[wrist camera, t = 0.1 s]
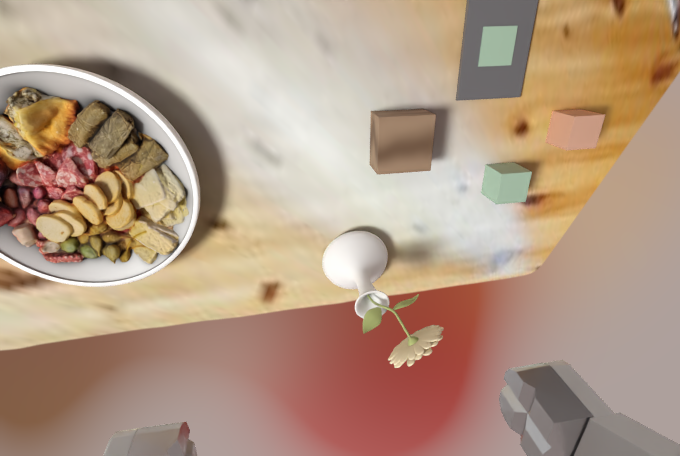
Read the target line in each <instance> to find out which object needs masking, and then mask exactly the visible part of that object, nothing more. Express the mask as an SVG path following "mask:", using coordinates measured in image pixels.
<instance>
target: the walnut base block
mask: <svg viewBox="0 0 680 456" xmlns="http://www.w3.org/2000/svg"><path fill="white" fill-rule="evenodd" d="M435 119H436V114H433V113H431V112H429V111H427V110H425V109H411V110H390V111H371V132H370V165H371V167H372V168H373V169H374V171H375V172H376V173H377V174H390V173H404V172H418V171H430V170H431V160H432V150H433V140H434V129H435Z"/></svg>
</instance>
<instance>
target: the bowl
mask: <svg viewBox="0 0 680 456" xmlns="http://www.w3.org/2000/svg"><path fill="white" fill-rule="evenodd" d="M199 209H200V185H199V179H198V174H197V171H196V167H195V165H194V162H193V159H192V157H191V155H190V152H189V151H188V149H187V147H186V145H185V143H184V142H183V140H182V138H181V137H180V135H179V134H178V133H177V131H176V130H175V129H174V127H173V126H172V125H171V124H170V123H169V121H168V120H167V119H166V118H165V117H164V116H163V115H162V114H161V113H160V112H159V111H158V110H157V109H156V108H154V107H153V106H152V105H151V104H150V103H148V102H147V101H146V100H144V99H143V98H142V97H140V96H139V95H137V94H136V93H134V92H133V91H131V90H130V89H128V88H126V87H124V86H123V85H121V84H119V83H117V82H115V81H112V80H110V79H108V78H106V77H103V76H101V75H98V74H95V73H92V72H89V71H86V70H82V69H78V68H73V67H68V66H62V65H53V64H25V65H15V66H9V67H4V68H0V258H2V259H3V260H5V261H7V262H9V263H10V264H12V265H14V266H16V267H18V268H20V269H22V270H24V271H27V272H29V273H31V274H34V275H36V276H39V277H42V278H45V279H48V280H52V281H56V282H60V283H65V284H70V285H78V286H91V287H102V286H114V285H121V284H126V283H130V282H134V281H137V280H140V279H143V278H145V277H148V276H150V275H152V274H154V273H156V272H157V271H159V270H161V269H162V268H164V267H165V266H167V265H168V264H169V263H170V262H172V261H173V260H174V259H175V258H176V257H177V256H178V255H179V254H180V252H181V251H182V250H183V249H184V247H185V246H186V244H187V243H188V241H189V239H190V237H191V236H192V233H193V231H194V228H195V226H196V223H197V219H198V215H199Z"/></svg>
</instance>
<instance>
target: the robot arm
mask: <svg viewBox="0 0 680 456" xmlns="http://www.w3.org/2000/svg"><path fill="white" fill-rule="evenodd" d="M504 380H505V381H506V383H507V385H506V386H505V387H504V388H503V389H502V390H501V393H500V398H499V401H500V407H501V411H502V414H503V416H504V418H505V420H506V422H507V424H508V425H509V427H510V428H511V429H512V430H514V431H515V432H517V433H518V434H520V435H521V442H520V445H521V447H522V448H523V450H524V451H525V453H526V455H527V456H680V444H678V443H676V442H674V441H672V440H670V439H668V438H666V437H665V436H662V435H661V434H659V433H657V432H655V431H653V430H652V429H650V428H648V427H646V426H644V425H642V424H640V423H639V422H637V421H635V420H633V419H631V418H629V417H627V416H626V415H624V414H621V413H614V412H613V411H612V410H611V409H610V408H609V407H608V406H607V405H606V403H605V402H604V401H603V400H602V399H601V398H600V397H599V396H598V395H597V394H596V393H595V392H594V391H593V389H592V388H591V387H590V386H589V385H588V384H587V383H586V382H585V381H584V380H583V379H582V378H581V376H580V375H579V374H578V373H577V372H576V371H575V370H574V369H573V368H572V367H571V366H570V365H569V364H568V363H567V362H565V361H563V360H560V361H554V362H548V363H539V364H534V365H527V366H522V367H516V368H511V369H508V371H506V373H505V377H504ZM189 433H190V429H189V427H188V425H187V422H181V423H174V424H166V425H160V426H152V427H145V428H137V429H130V430H124V431H118V432H116V433H115V434H114V435H113V437H112V438H111V439H110V441H109V443H108V445H107V448H106V450H105V453H104V455H103V456H197V453H196V447H195V444H194V442H192V441H190V440H189V439H188V438H189Z"/></svg>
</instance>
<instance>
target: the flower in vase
mask: <svg viewBox="0 0 680 456" xmlns="http://www.w3.org/2000/svg"><path fill="white" fill-rule="evenodd" d="M387 259H388V253H387V249H386V246H385V244H384V243H383V241H382V240H381V239H380V238H379V237H378V236H376V235H374V234H372V233H370V232H366V231H352V232H348V233H345V234H342V235H340V236H339V237H337V238H336V239H334V240H333V241H332V242H331V243H330V244H329V245H328V247H327V248H326V250H325V252H324V255H323V259H322V267H323V271H324V273H325V275H326V276H327V278H328V279H329V280H330V281H331V282H332V283H334V284H335V285H337V286H339V287H342V288H345V289H358V290H359V298H358V299H357V301H356V303H355V311H356V313H357V314H358V315H359V316H360V317H362V318H364V320H363V333H366V332H368V331H370V330H372V329H373V328H375V327H377V326H378V325H379V324H380V323H381V318H382V315H383V314H384V313H385V312H386V310H390V311H392V312H393V313H394V314H395V315H396V317H397V319H398V320H399V322H400V324H401V325H402V327H403V329H404V330H405V332H406V334H407V335H408V337H407V339H405V340H403V341H402V342H401V344H399V345H398V346H396V347H395V348H394V350H393V352H392V353H391V356H390V357H389V359H388V360H391V359H392V360H391V362H390V364H392V363H394V365H395V366H394V367H395V368H399V367H400V366H401V365H402V364H403V363H404V362H405V361H406V360H407V359H408V360H407V365H408V366H411V365H413V364H414V362H415V360H419V359H420V358H421V357H422V355H429V354H431V353H432V349H431V348H430V347H433V346H436V345H437V344H438V341H439V340H441V339H442V338H443V336H441V335H440V334H441V333H442V332H441V331H442V330H443V327H439V326H438V325H437V326H435V325H431V326H429V327H425V328H423V329H421V330H418V331H416V332H415V333H414V334H411V335H410V334H409V333H408V331H407V330H406V328H405V326H404V325H403V323H402V321H401V319H400V317H399V316H398V314H397V313H396V312H395V311H394V310H396V309H399V308H402V307H406V306H408V305H410V304H412V303H413V302H415V301H416V299H417V298H418V295H419V294H418V295H417V296H415V297H414V298H411V299H408V300H405V301H402V302H399V303H398V304H397V305H396V306H395V307H394V308H393V309H391V308H389V298H388V297H387V295H386V294H384V293H383V292H381V291H377V290H376V289H375V288H374V286H373V285H372V283H373V282H375V281H376V280H377V279H378V278H379V277H380V276H381V275H382V273H383V272H384V270H385V268H386V265H387Z"/></svg>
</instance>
